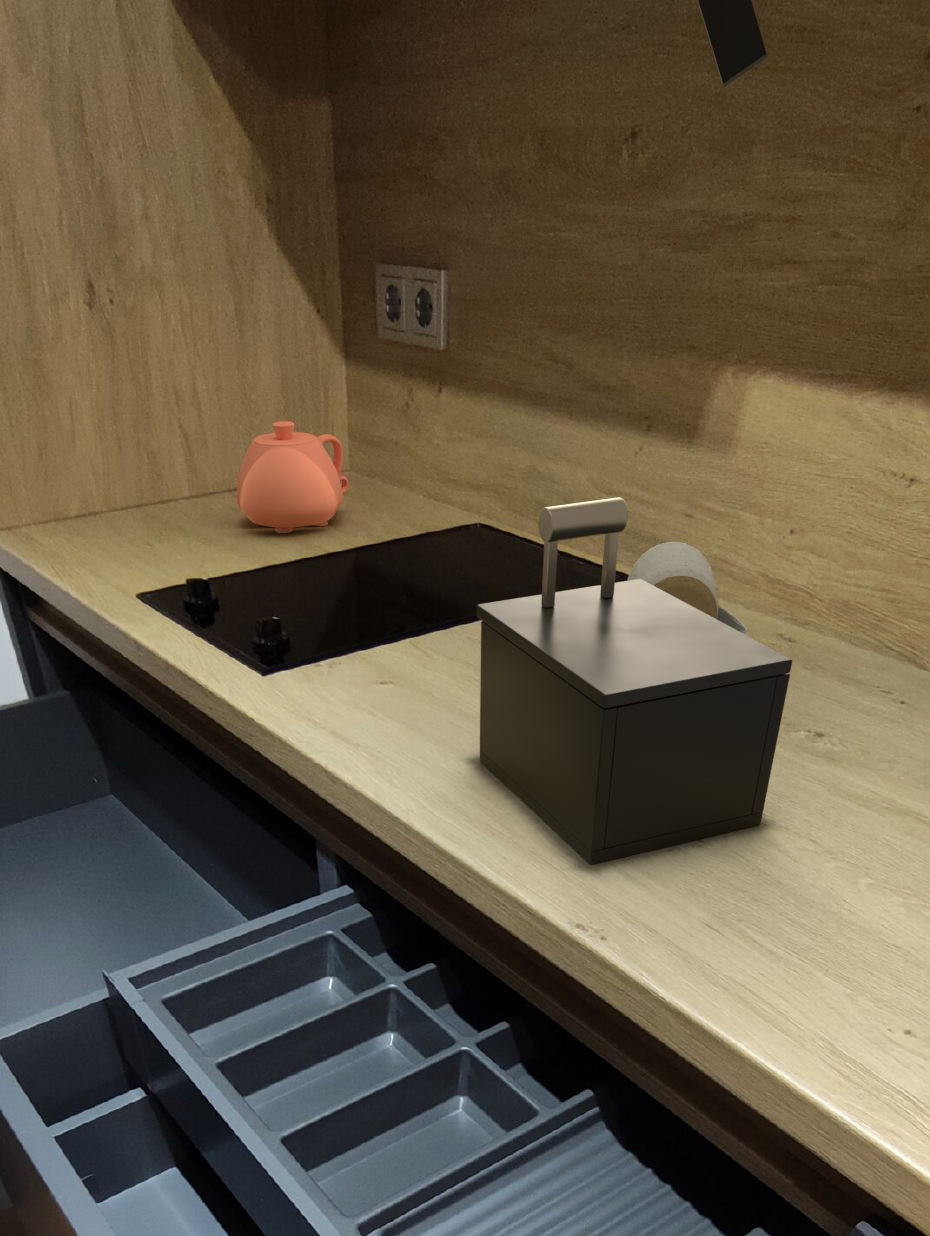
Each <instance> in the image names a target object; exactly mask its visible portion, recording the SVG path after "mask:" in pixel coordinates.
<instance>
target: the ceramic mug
mask: <svg viewBox="0 0 930 1236" xmlns="http://www.w3.org/2000/svg"><path fill="white" fill-rule="evenodd" d="M636 579H642V580H644V581H646V582H647V583H649V584H651V585H653V586H655V587H657V588H659V589H661V590H662V591H664V592H666V593H668V594H670V595H672V596H674V597H675V598H677V599H679V600H681V601H683V602H685V603H687V604H689V605H690V606H692V607H694V608H696V609H698V610H700V611H702V612H704V613H705V614H707V615H709V616H711V617H713V618H715V619H717V620H719V621H720V622H722V623H724V624H726V625H728V626H730V627H732V628H733V629H735V630H737V631H739V632H741V633H743V634H745V635H747V636H748V637H750V633H749V630H748V629H747V627H746V626H745V624H743V622H742V621H741V620H739V619H738V618H737V617H736V616H735V615H734V614H733V613H731V612H730V611H728V610H727V609H725V608H724V607H723V606H721V605H719V600H718V599H719V597H718V594H717V591H716V584H715V577H714V573H713V569H712V567H711V565H710V562H709V561H708V559H707V558H706V556H705V555H704V554H703V552H701V551H700V550H699V549H698V548H696V547H694V546H692V545H690V544H688V543H686V542H681V541H668V542H667V541H666V542H662V543H659V544H656V545H655V546H653V547H650V548H649V549H647V550H646V551H645V552H644V553H643V554H641V556H640V557H639V558H638V559H637V561H635V563H634V564H633V566H632V568H631V569H630V571H629V574H628V576H627V580H626V581H629V580H636Z"/></svg>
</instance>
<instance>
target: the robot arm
mask: <svg viewBox="0 0 930 1236" xmlns="http://www.w3.org/2000/svg"><path fill="white" fill-rule="evenodd" d="M697 4H698V7H699V10H700V11H699V12H700V14H701V18H702V20H703V24H704V27H705V31H706V34H707V37H708V40H709V41H708V42H709V44H710V47H711V50H712V53H713V57H714V59H715V64H716V67H717V70H718V74H719V77H720V80H721V83H722V86H723V88H726V87H727V86H729V85H730V84H732V83H734V81H736V80H737V79H739V78H741V77H742V76H743V75H744V74H746V73H747V72H749V71H750V70H752V69H753V68H755V67H756V66H758V65H759V64H760V63H762V62H764V61H765V60H766V59H768V55H767V54H768V53H767V50H766V46H765V43H764V40H763V37H762V33H761V29H760V25H759V22H758V19H757V15H756V11H755V8H754V6H753V2H752V0H697Z"/></svg>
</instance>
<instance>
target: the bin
mask: <svg viewBox="0 0 930 1236" xmlns="http://www.w3.org/2000/svg"><path fill="white" fill-rule="evenodd" d="M480 624H481V625H480V687H479V689H480V690H479V691H480V692H479V693H480V694H479V695H480V696H479V704H480V705H479V709H480V710H479V762H480V763H481V764H482V765H483V766H484V767H485V768H486V769H487V770H488V771H490V772H491V773H492V774H493V775H494V776H495V777H496V778H497V779H498V780H499V781H500V782H501V783H503V784H504V786H505V787H507V788H508V790H510V791H511V792H512V793H513V794H514V796H516V797H517V798H518V799H520V800H521V801H522V803H524V804H525V805H526V806H527V807H528V808H529V809H530V810H531V811H532V812H533V813H535V814H536V815H537V816H538V817H539V818H540V819H541V820H542V821H543V822H544V823H545V824H546V825H547V826H548V827H550V828H551V829H552V830H553V831H554V832H555V833H556V835H558V836H559V837H560V838H561V839H562V840H563V841H564V842H566V843H567V844H568V845H569V847H571V848H572V850H574V851H575V852H576V853H577V854H578V855H579V856H581V858H582V859H583V860H584V861H585V862H586V863H588V864H589V865H590V866H592V865H595V864H600V863H604V862H609V861H612V860H617V859H622V858H626V857H630V856H634V855H639V854H642V853H646V852H650V851H651V852H652V851H655V850H659V849H663V848H668V847H671V846H676V845H680V844H684V843H688V842H693V841H697V840H702V839H706V838H709V837H714V836H718V835H722V834H726V833H731V832H734V831H739V830H743V829H747V828H752V827H756V826H760V825H761V824H762V819H763V815H764V814H763V813H764V809H765V804H766V798H767V793H768V789H769V783H770V779H771V773H772V768H773V763H774V758H775V753H776V748H777V744H778V738H779V734H780V733H779V732H780V728H781V722H782V717H783V713H784V707H785V703H786V699H787V692H788V687H789V682H790V677H791V674H790V673H786V674H781V675H775V676H770V677H765V678H760V679H755V680H750V681H744V682H739V683H734V684H729V685H724V686H719V687H714V688H708V689H703V690H698V691H693V692H688V693H683V694H678V695H672V696H667V697H662V698H657V699H652V700H647V701H642V702H636V703H631V704H626V705H621V706H616V707H611V708H603V707H601V706H600V705H599V704H597V703H596V702H594V701H593V700H592V699H590V698H589V697H587V696H586V695H585V694H583V693H582V692H581V691H579V690H578V689H576V688H575V687H574V686H572V685H571V684H569V683H568V682H567V681H565V680H564V679H563V678H561V677H560V676H558V675H557V674H556V673H554V672H553V671H551V670H550V669H549V668H547V667H546V666H545V665H543V664H542V663H540V662H539V661H538V660H536V659H535V658H533V657H532V656H531V655H529V654H528V653H527V652H525V651H524V650H522V649H521V648H520V647H518V646H517V645H516V644H514V643H513V642H511V641H510V640H509V639H507V638H506V637H504V636H503V635H502V634H500V633H499V632H498V631H496V630H495V629H493V628H492V627H491V626H489V625H488V624H486V623H485V622H484V621H482V620H481V622H480Z"/></svg>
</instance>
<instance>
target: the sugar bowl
mask: <svg viewBox="0 0 930 1236" xmlns="http://www.w3.org/2000/svg"><path fill="white" fill-rule="evenodd" d="M272 429H273V431H274V432H271V433H270V432H269V433H264V434H260V435H257V436H255V437H254V438H253V439H252V441H251V442H250V444H249V446H248V448H247V451H246V454H245V456H244V458H243V461H242V463H241V466H240V468H239V473H238V478H237V485H236V500H237V506H238V508H239V510H240V511H241V512H242V513H243V514H244V516H246V517H247V519H248V520H249V521H250V522H252V523H254V524H256V525H259V526H264V527H270V528H275V533H278V534H286V533H292V532H293V528H300V527H307V526H314V527H324V526H328V525H329V522H328V521H329V520H332V519H333V518H334V516H335V515H336V514H337V513H338V510H339V509H340V507H341V505H342V503H343V500H344V495H345V494H346V493H347V492H348V491H349V488H350V483H349V480H348V477H346V476H345V475H344V474H343V475H342V469H343V463H344V462H343V461H344V449H343V444H342V443H341V441H340V440H339V439H338V438H337V437H336V436H334V435H332V434H328V433H327V434H326V433H324V434H321V435H319V436H316V435H314V434H312V433H308V432H301V431H294V430H295V422H293V421H289V420H282V421H276V422H273V423H272ZM326 443H331V444H332V448H333V460H332V458H331V457H330V455H329V454H328V452H327V450H326V448H325V447H324V446H323V444H326Z"/></svg>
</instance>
